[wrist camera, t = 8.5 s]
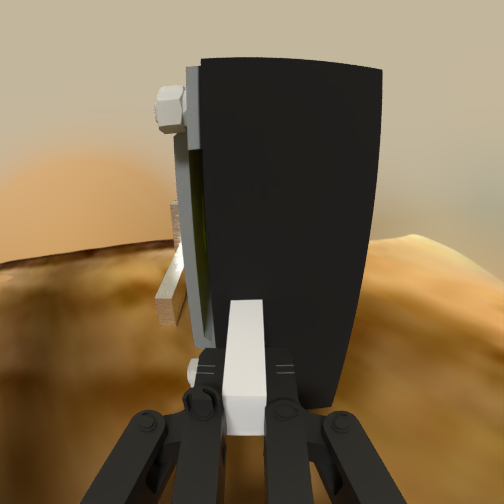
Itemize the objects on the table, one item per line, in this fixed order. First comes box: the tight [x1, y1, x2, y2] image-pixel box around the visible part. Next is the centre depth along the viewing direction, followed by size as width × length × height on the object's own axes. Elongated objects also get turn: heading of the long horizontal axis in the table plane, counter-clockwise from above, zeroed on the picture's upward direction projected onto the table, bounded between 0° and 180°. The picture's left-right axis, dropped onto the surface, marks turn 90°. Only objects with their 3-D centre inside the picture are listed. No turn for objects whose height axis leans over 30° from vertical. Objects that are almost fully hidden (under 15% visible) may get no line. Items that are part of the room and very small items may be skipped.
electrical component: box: [154, 57, 382, 410], centre depth 23 cm, size 18×10×20 cm, turn 3°
